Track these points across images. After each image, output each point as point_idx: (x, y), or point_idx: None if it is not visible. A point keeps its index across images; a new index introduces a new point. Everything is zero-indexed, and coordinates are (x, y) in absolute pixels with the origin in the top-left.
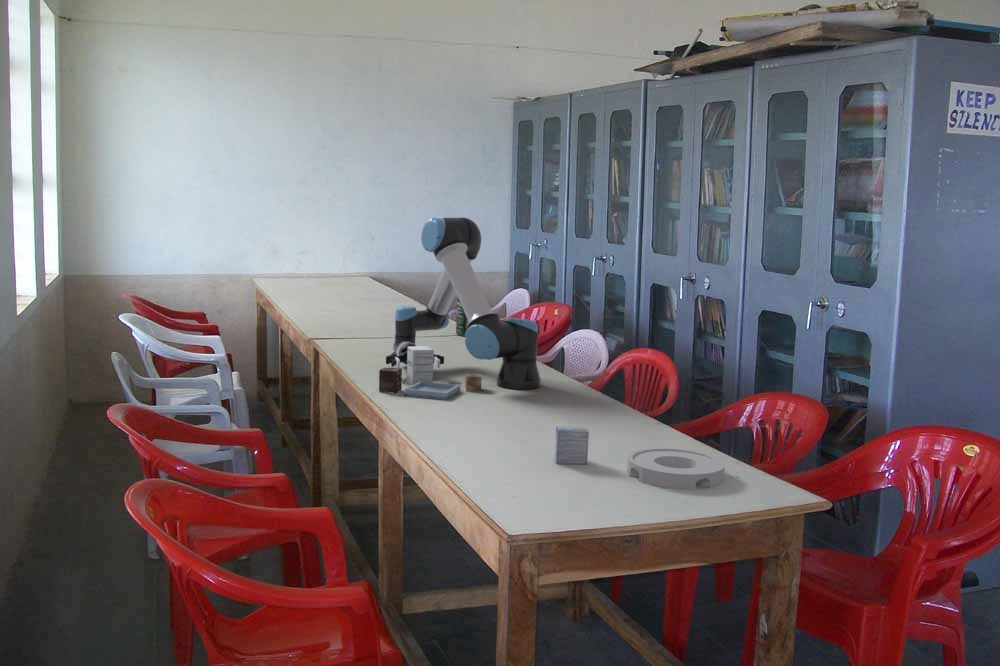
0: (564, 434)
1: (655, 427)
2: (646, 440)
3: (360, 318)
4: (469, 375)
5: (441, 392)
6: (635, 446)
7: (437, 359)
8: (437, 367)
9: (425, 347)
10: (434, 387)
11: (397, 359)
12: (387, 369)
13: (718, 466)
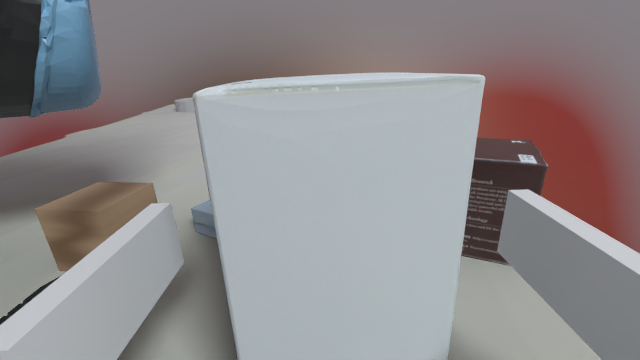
0: None
1: (88, 133)
2: (151, 122)
3: None
4: (122, 192)
5: None
6: (178, 118)
7: (144, 222)
8: (181, 260)
9: (270, 78)
10: None
11: (563, 212)
12: (499, 144)
13: (189, 99)
